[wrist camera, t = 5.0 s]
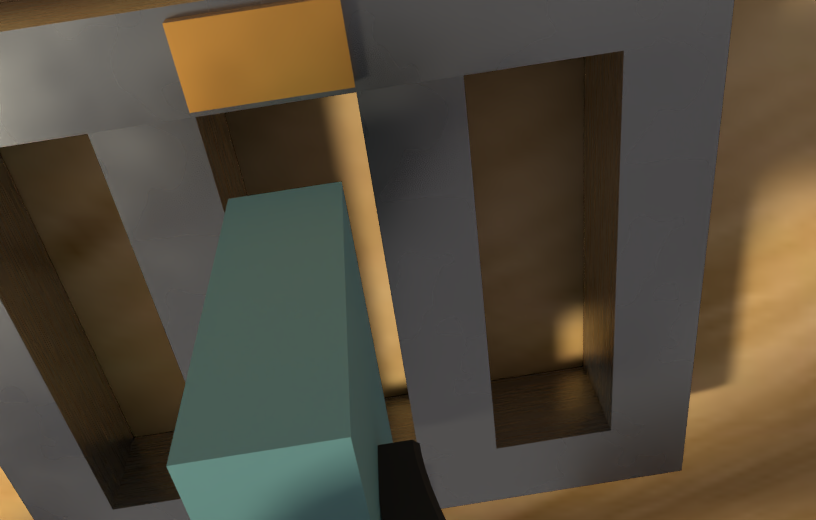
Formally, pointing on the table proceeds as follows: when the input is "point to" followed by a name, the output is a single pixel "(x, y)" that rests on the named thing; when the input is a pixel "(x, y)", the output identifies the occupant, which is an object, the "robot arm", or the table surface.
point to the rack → (397, 213)
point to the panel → (282, 370)
